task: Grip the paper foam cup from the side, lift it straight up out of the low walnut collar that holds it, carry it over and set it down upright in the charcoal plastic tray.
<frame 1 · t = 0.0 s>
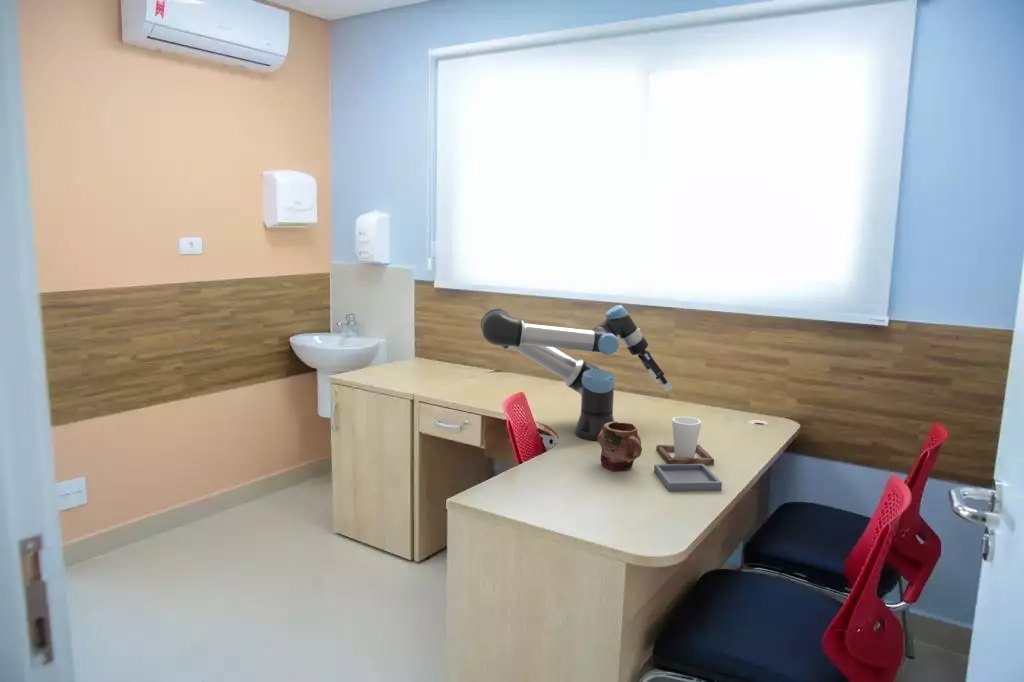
hand: (664, 385, 280), 15 cm above the table, fingers open, 13 cm apart
sculpted ceramic mug: (620, 468, 233), on the table
walnut collar: (684, 457, 244), on the table
charcoal tray: (686, 480, 222), on the table
foam cup: (684, 458, 244), on the table
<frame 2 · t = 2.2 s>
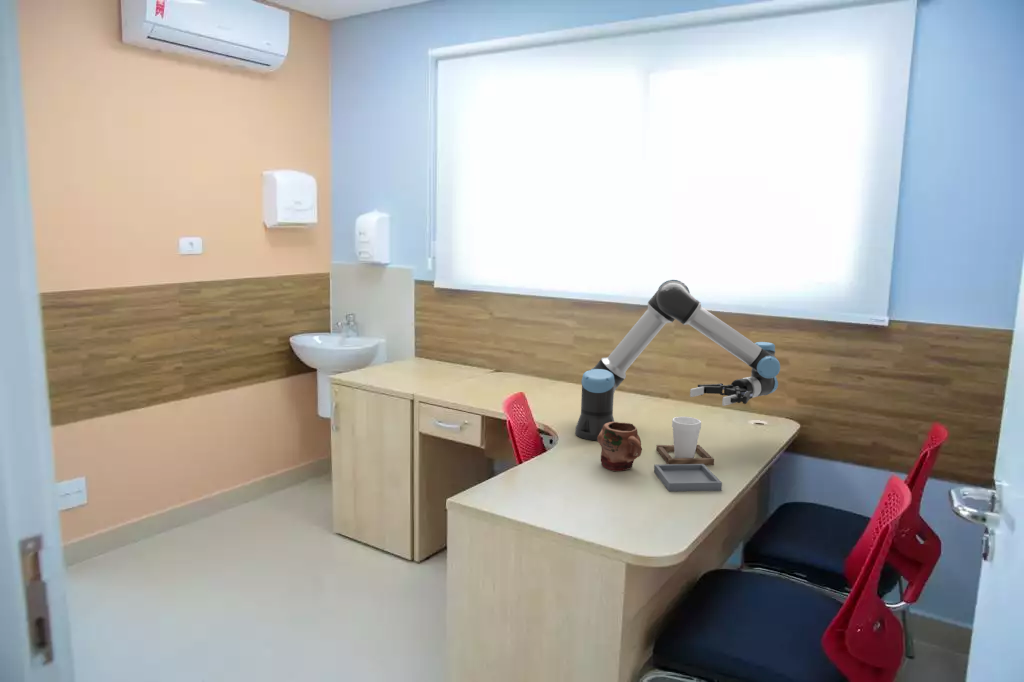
hand: (706, 397, 246), 20 cm above the table, fingers open, 13 cm apart
nothing on the table moved.
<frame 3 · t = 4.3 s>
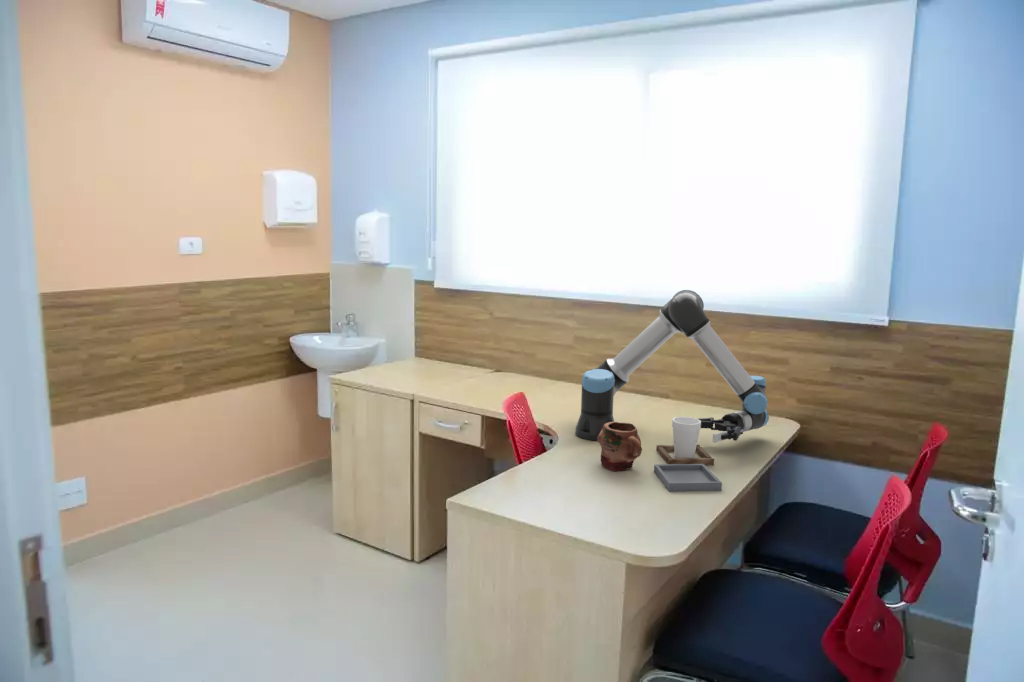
hand: (697, 433, 245), 8 cm above the table, fingers open, 13 cm apart
nothing on the table moved.
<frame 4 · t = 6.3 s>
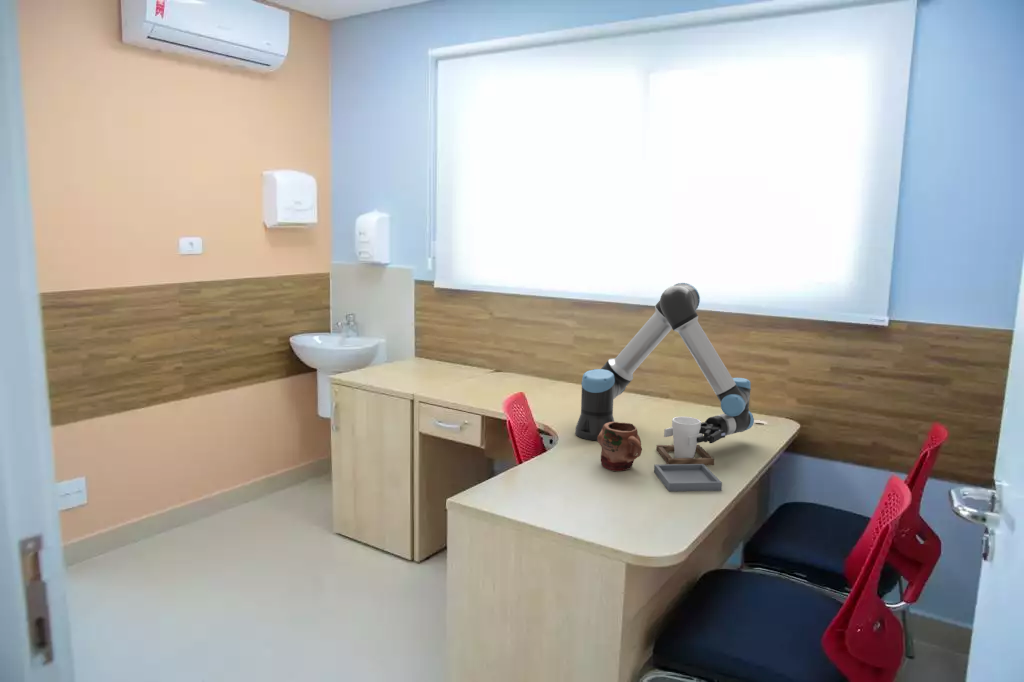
hand: (676, 437, 239), 8 cm above the table, fingers closed on foam cup, 9 cm apart
foam cup: (684, 458, 244), on the table, touching gripper
everything else where it was.
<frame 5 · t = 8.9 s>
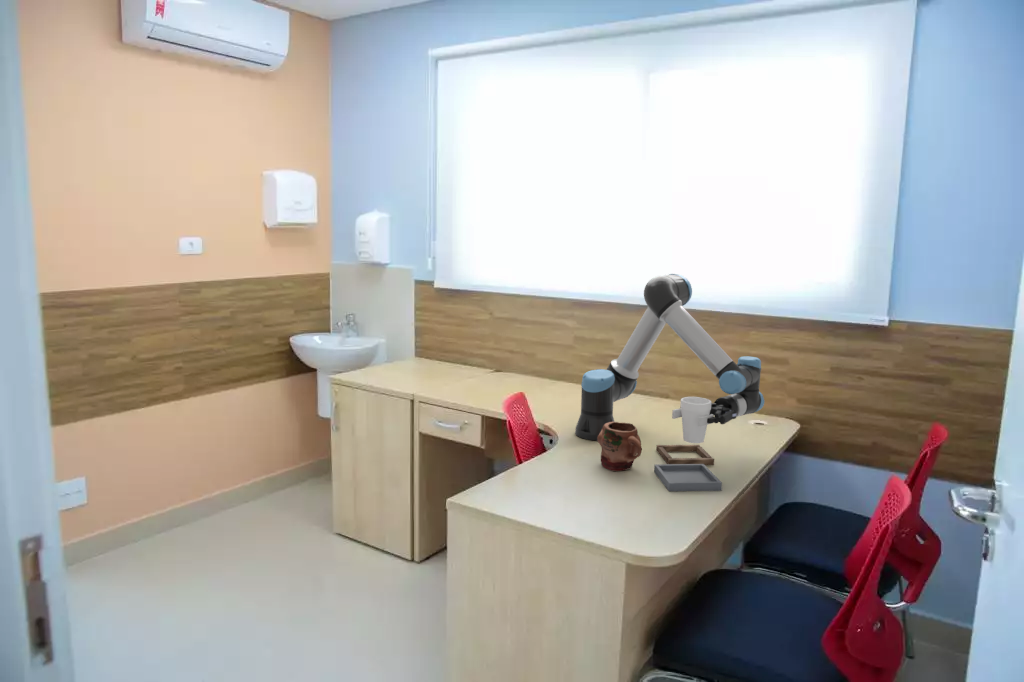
hand: (686, 418, 226), 18 cm above the table, fingers closed on foam cup, 9 cm apart
foam cup: (693, 440, 230), point 10 cm above the table, touching gripper
everything else where it was.
when the fingers open (10 cm above the table, at t = 11.5 s): foam cup drops 1 cm, resting on charcoal tray.
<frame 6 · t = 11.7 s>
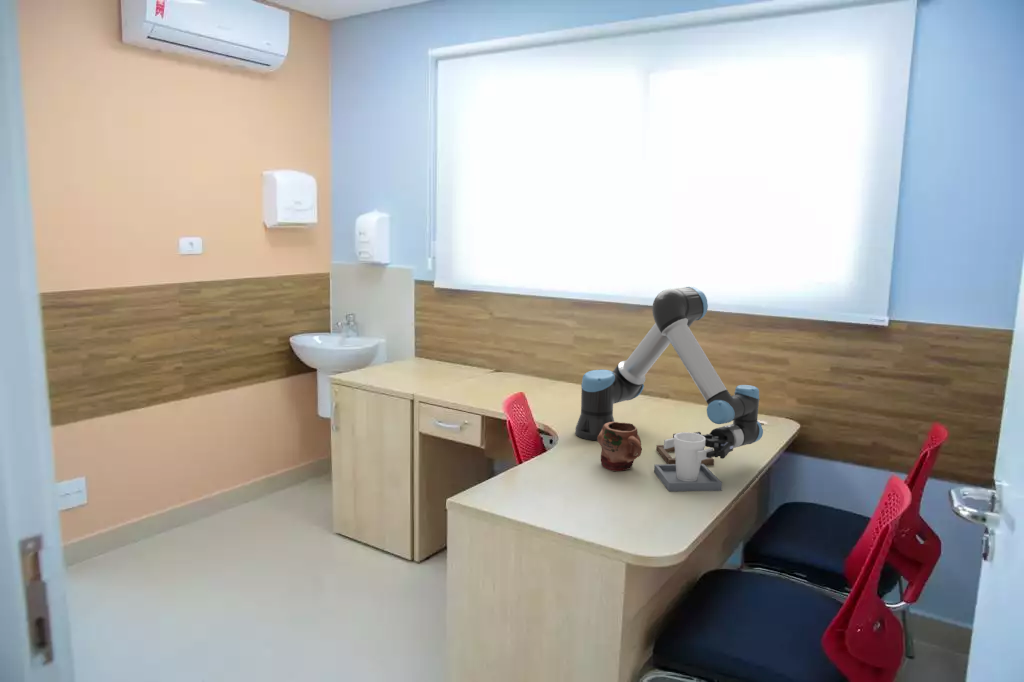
hand: (680, 450, 218), 10 cm above the table, fingers open, 12 cm apart
foam cup: (686, 478, 222), point 1 cm above the table, touching charcoal tray
everything else where it was.
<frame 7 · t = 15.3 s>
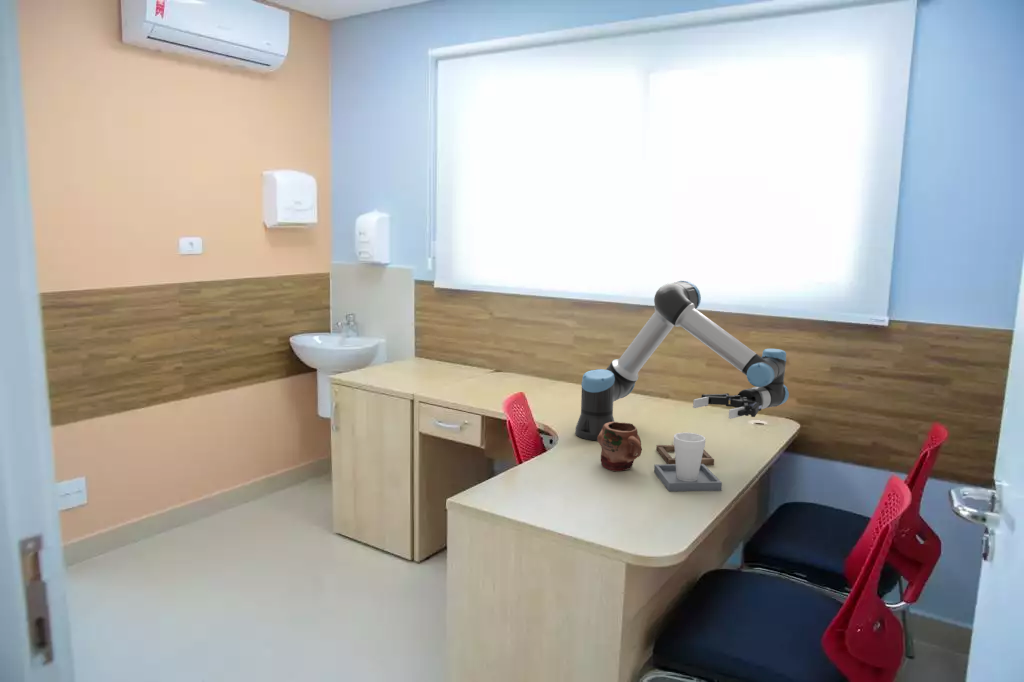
hand: (711, 408, 224), 21 cm above the table, fingers open, 13 cm apart
nothing on the table moved.
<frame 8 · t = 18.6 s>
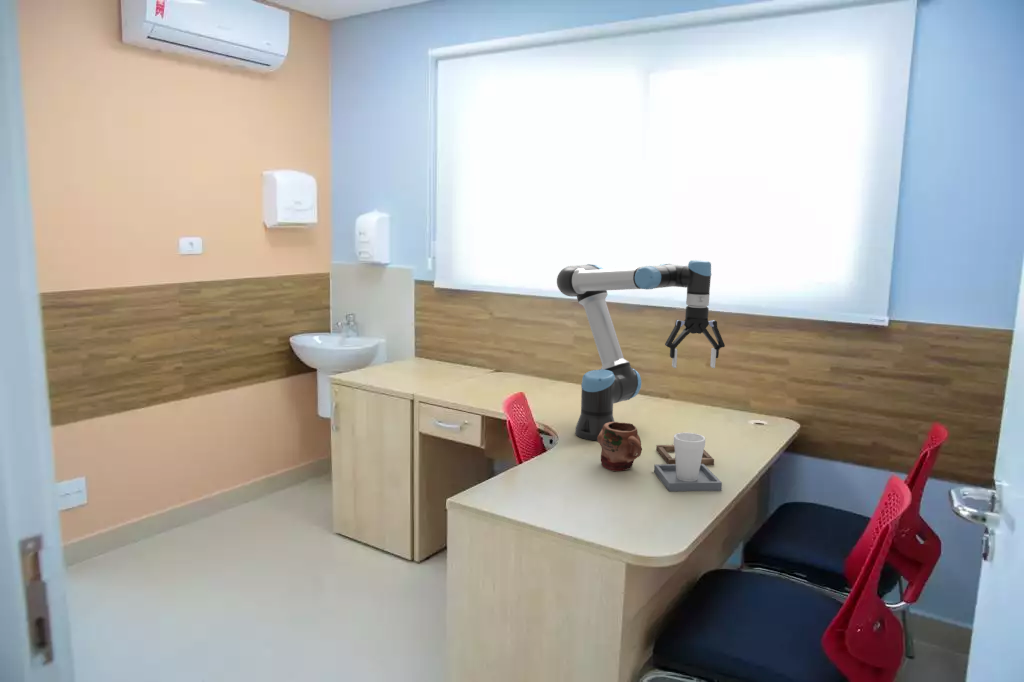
hand: (693, 367, 250), 29 cm above the table, fingers open, 13 cm apart
nothing on the table moved.
at the end: foam cup inside the target area on the charcoal tray (0.1 cm from its centre), point 0.8 cm above the charcoal tray's base; foam cup tilted 0°; the gripper is holding nothing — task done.
